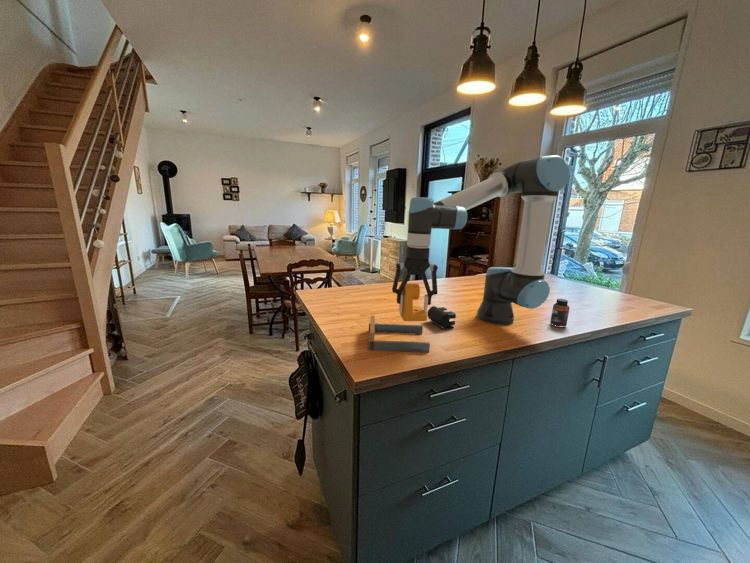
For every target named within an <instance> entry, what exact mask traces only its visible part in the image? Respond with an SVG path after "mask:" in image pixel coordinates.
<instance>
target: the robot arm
mask: <svg viewBox="0 0 750 563" xmlns="http://www.w3.org/2000/svg"><path fill="white" fill-rule="evenodd" d="M569 179H570V168H569V165H568V163H567V162H566V160H565V159H564V158H563V157H562V156H560V155H555V154H554V155H553V154H552V155H545V156H544V155H543V156H540V157H535V158H530V159H523V160H519V161H518V162H514V163H513V164H510V165H508V166H506V167H504V168H502V169H500V170H498V171H495V172H494V173H492V175H491V176H490V177H489V178H486V179H484V180H482V181H480V182H478V183H476V184H474V185H471V186H470V187H467V188H465V189H463V190H460V191H458V192H456V193H453V194H451V195H449V196H447V197H445V198H441V199H439V200H438V201H435V200H434V198H432V197H423V196H422V197H421V196H420V197H419V196H416V197H415V196H414V197H411V199H410V200H409V201H410V202H409V208H408V221H407V222H408V224H407V234H406V235H407V238H406V249H405V260H404V262H396V263H395V268H396V269H395V270H396V271H395V275H394V278H393V283H392V288H391V290H392V292H393V293H394V294H396V303H397V305H398V304H400V306H399V305H398V311H399V315H400V314H402V307H403V293H402V291H403V289H404V287H405V285H406V284H408V282H409V280H410V278H411V277H412V276H415V275H417V276H421V280H422V281H423V285H424V288H425V291H426V294H425V293H424V300H423V309H422V310H423V311H424V312H425V313H426V314H427V313H428V306H431V304H432V297H433V296H434V295H435V296H436V295H438V281H437V271H438V269H439V268H438V265H437V264H436V263H435V264H432V263H430V260H429V258H430V251H431V250H430V246H431V238H432V236H431V235H432V230H433V229H439V230H441V229H442V230H462V229H463V228H464V227H465V226H466V224H467V221H468V212H467V211H468V210H470V209H473V208H475V207H478V206H479V205H482V204H484V203H486V202H488V201H490V200H492V199H494V198H497V197H499V198H502V197H505V196H508V195H512V194H520V193H521V194H520V197H521V199H522V200H523V201H524V204H523V205H524V206H523V212H522V213H523V214H522V221H521V226H520V234H519V239H518V240H519V241H518V246H517V247H518V248H517V255H516V262H515V266H514V267H505V266H491V267H489V268H487V270H486V274H485V280H484V288H483V297H482V301H481V303H480V306H479V307H478V309H477V312H476V318H477V319H478V320H480V321H482V322H484V323H487V324H492V325H500V326H508V325H512V324H513V323H514V321H515V315H514V310H513V304H515V305H517V306H519V307H522V308H526V309H530V310H531V309H536V308H539V307H540V306H542V305H543V303H545V302H546V300H547V299H548V297H549V295H550V290H551V289H550V288H551V287H550V285H549V283H548V282H547V281H546V280H545V274H546V273H545V272H544V271H543V269H542V264H543V260H544V259H543V257H544V251H545V245H546V238H547V234H548V228H549V220H550V215H551V209H552V203H553V202H554V201H555V200H556V199H557V198H558V195H559V191H561V190H563V189H564V188H566V186H567V184H568V183H569ZM404 267H405V269H406V272H405V275H404V277H403V279H402V280H401V283H400V285H399V280H400V276H401V270H403V268H404ZM428 269H429V270H430V271H431V272H430V273H431V287H432V290H431V287H430V284H429V281H428V278H427V274H426V272H427V270H428ZM398 285H399V286H398ZM512 303H513V304H512Z"/></svg>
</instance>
